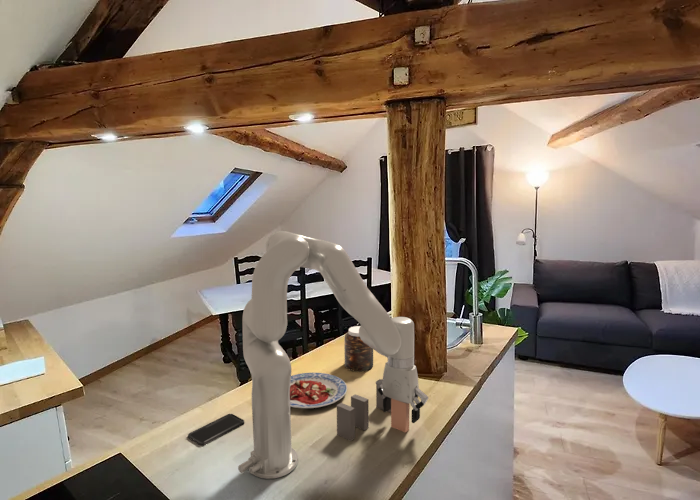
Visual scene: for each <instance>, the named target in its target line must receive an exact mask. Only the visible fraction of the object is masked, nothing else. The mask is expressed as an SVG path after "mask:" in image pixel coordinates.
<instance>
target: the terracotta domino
mask: <svg viewBox="0 0 700 500" xmlns="http://www.w3.org/2000/svg"><path fill="white" fill-rule="evenodd" d="M410 406H411V404H407V403H403V402H400V401H397V400H395V399H392V398H391V412H390V415H391V417H390V427H391V428H393V429H395V430H398V431H400V432H403V433H407V432H409V430H410Z"/></svg>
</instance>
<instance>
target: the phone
mask: <svg viewBox="0 0 700 500" xmlns="http://www.w3.org/2000/svg"><path fill="white" fill-rule="evenodd" d="M244 425H245V419H243V418H241V417H239V416H237V415H235V414H234V413H228V414H225V415H223V416H222V417H220V418H218V419H216V420H215V419H214V420H213V421H211V422H209V423H207V424H205V425H203V426H201V427H200V428H197V429H195V430H193V431H191V432H189V433H188V434H187V437H188V439H189V440H191V441H192V442H194V443H195V444H197V445H198V446H199V447H204V446H206V444H207V445H208V444H210V443H212V442H214V441H216V440H218V439H219V438H221V437H223V436H225V435H228V434H229V433H231V432H232V431H234V430H236V429H238V428H241V427H243V426H244Z"/></svg>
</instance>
